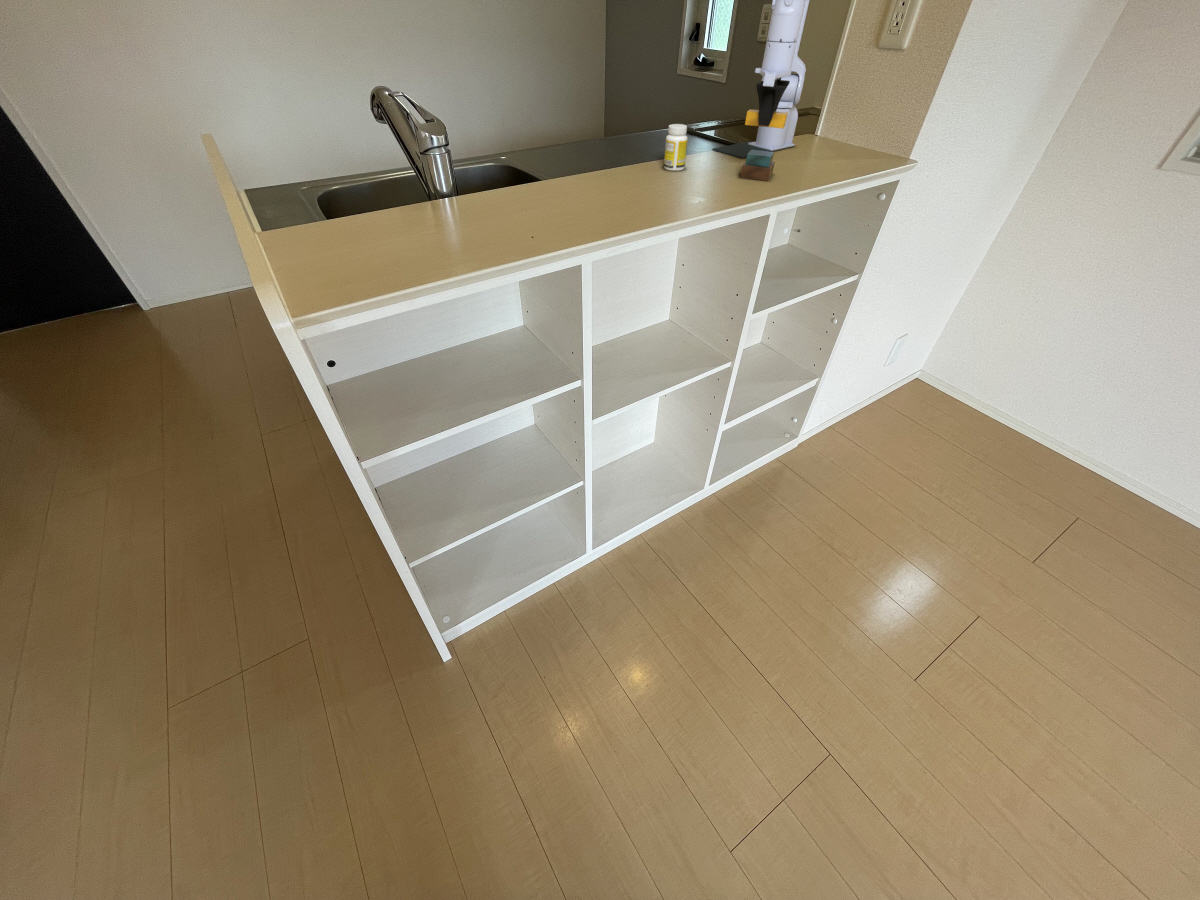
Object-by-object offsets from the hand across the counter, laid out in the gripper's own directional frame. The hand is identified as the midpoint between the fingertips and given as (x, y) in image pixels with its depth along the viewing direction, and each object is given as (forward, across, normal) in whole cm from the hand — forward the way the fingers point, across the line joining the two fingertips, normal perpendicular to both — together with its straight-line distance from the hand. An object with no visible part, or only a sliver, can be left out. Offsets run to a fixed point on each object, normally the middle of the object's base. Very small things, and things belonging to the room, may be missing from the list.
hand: (765, 123), depth 107 cm
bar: (0, 0, 0) cm, 0 cm away
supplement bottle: (+10, +3, -18) cm, 21 cm away
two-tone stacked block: (+10, +1, 0) cm, 10 cm away
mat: (+10, -21, -6) cm, 24 cm away
